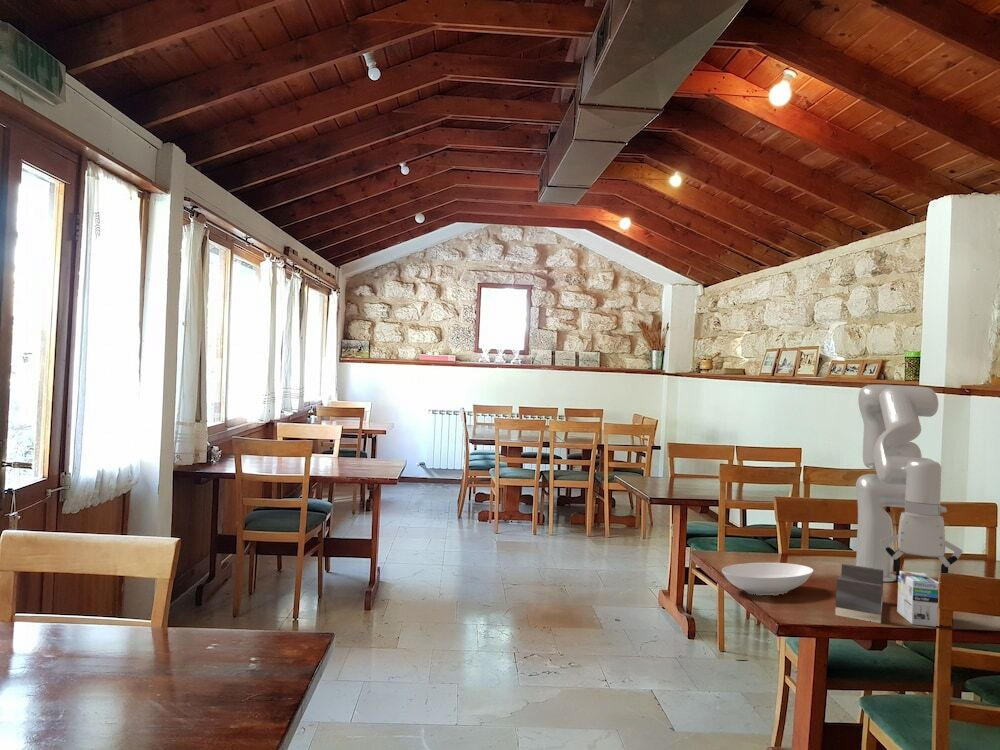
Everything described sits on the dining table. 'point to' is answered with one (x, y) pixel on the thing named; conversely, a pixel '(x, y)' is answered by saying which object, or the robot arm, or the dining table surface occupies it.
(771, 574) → the bowl
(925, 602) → the light bulb box
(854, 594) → the grey phone stand
